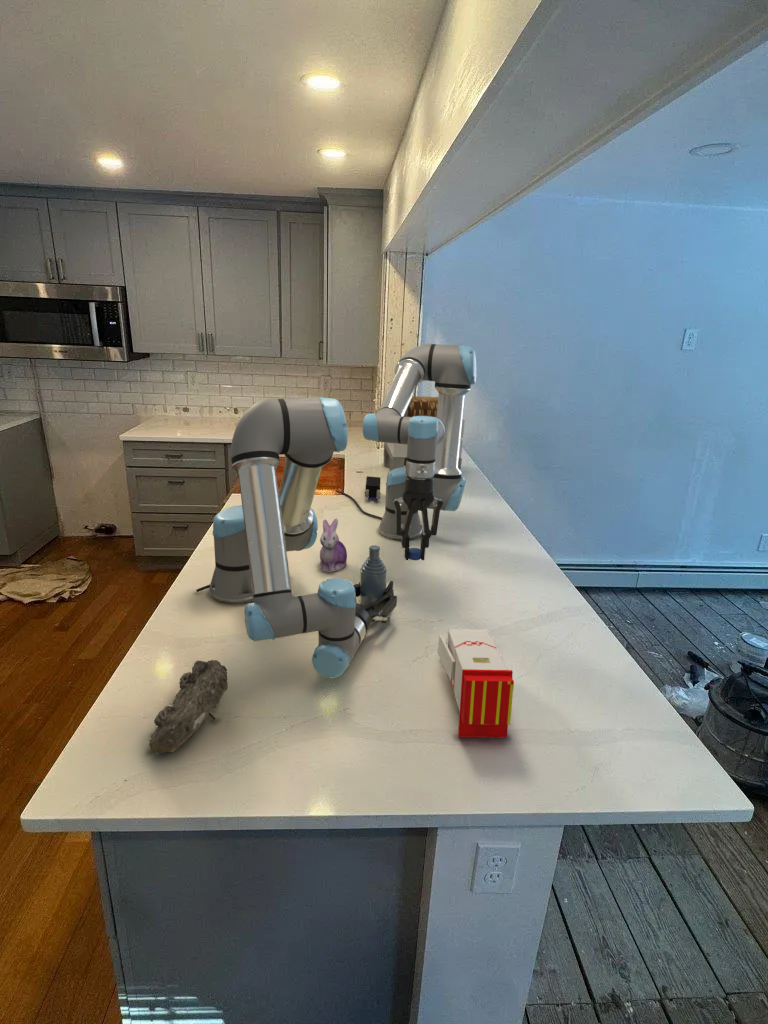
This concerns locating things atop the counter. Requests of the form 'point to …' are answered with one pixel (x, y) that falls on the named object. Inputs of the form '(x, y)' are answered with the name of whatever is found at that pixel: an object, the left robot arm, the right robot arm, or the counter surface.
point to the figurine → (331, 548)
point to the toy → (478, 682)
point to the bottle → (372, 578)
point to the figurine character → (372, 488)
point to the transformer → (398, 452)
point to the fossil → (189, 705)
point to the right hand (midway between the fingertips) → (414, 558)
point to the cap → (414, 553)
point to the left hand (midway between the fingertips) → (377, 583)
